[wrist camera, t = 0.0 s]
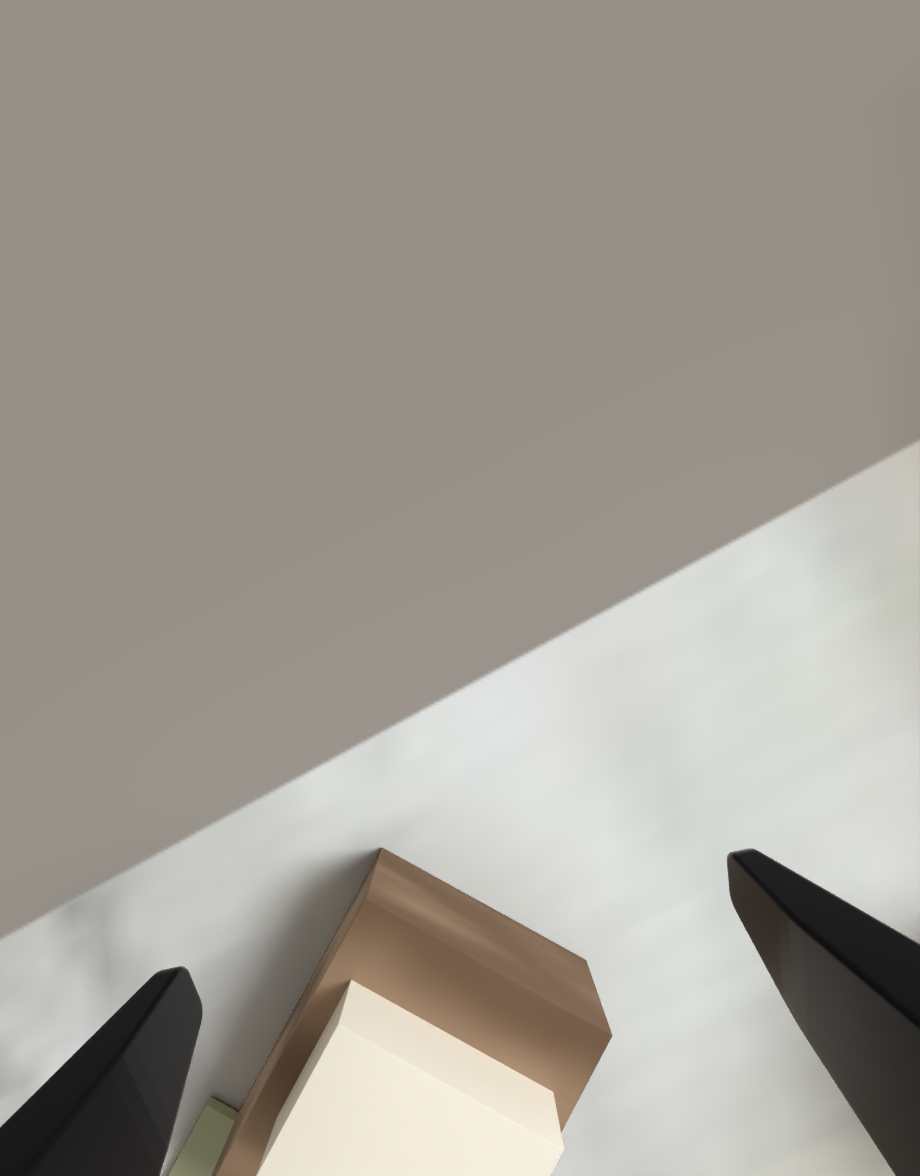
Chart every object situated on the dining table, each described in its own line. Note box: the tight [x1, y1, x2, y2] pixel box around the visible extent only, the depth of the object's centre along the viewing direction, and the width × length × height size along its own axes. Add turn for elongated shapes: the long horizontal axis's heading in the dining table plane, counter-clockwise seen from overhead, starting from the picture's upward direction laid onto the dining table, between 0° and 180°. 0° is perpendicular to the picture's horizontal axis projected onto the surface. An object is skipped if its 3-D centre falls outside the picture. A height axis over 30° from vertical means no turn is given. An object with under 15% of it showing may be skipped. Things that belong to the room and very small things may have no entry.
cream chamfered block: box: [256, 980, 564, 1176], centre depth 18 cm, size 6×9×2 cm, turn 61°
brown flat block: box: [211, 848, 612, 1176], centre depth 21 cm, size 14×11×4 cm
